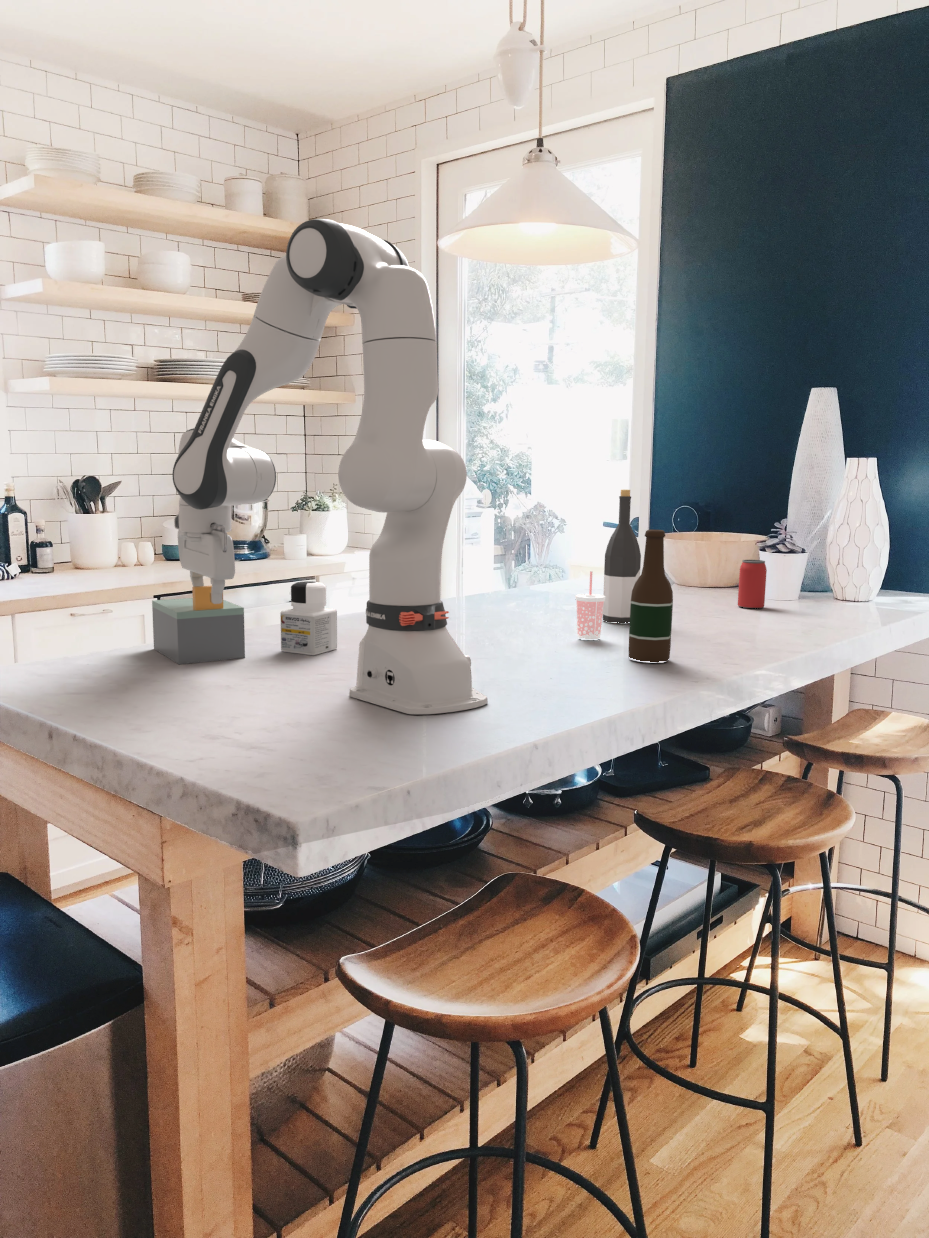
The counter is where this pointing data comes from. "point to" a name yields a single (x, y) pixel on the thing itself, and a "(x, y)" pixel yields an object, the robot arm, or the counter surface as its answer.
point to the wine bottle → (621, 566)
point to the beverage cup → (589, 614)
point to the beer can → (752, 584)
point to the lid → (197, 605)
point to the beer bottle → (651, 605)
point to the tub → (199, 637)
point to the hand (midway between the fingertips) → (207, 599)
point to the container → (308, 621)
